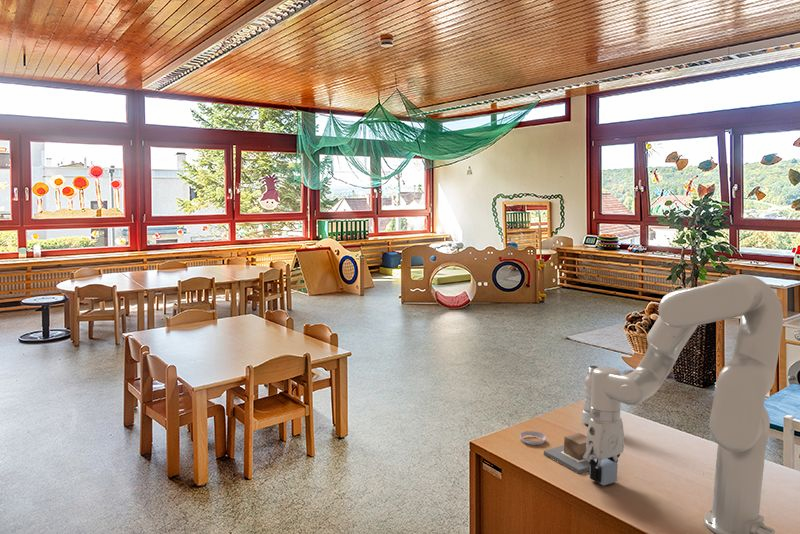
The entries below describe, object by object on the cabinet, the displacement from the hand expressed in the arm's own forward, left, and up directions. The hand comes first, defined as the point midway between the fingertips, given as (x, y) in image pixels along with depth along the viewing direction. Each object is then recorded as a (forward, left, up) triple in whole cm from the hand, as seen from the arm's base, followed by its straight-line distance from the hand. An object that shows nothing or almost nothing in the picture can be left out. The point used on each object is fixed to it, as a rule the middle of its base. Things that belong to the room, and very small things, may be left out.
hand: (603, 477), depth 160 cm
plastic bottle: (+31, -29, -2) cm, 42 cm away
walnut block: (+13, -5, 0) cm, 14 cm away
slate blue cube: (0, 0, -1) cm, 1 cm away
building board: (+14, -5, -1) cm, 14 cm away
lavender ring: (+30, -2, -2) cm, 30 cm away
